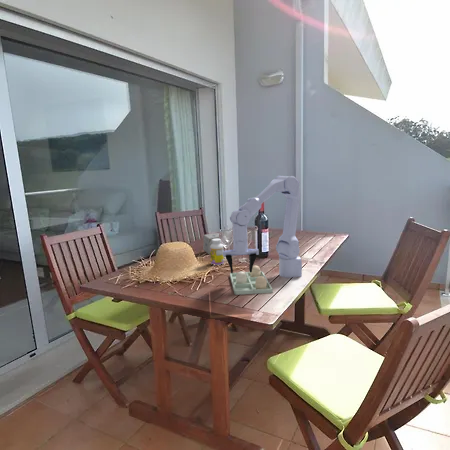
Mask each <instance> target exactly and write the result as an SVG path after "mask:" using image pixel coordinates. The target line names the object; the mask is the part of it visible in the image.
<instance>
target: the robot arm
mask: <svg viewBox="0 0 450 450" xmlns="http://www.w3.org/2000/svg"><path fill="white" fill-rule="evenodd" d="M276 193H282V195H283V196H284V197H285V198H286V203H285V211H284V219H283V227H282V234H281V235H280V236H279V237H278V240H277V243H276V245H275V251H276V252H277V253H278V261H279V263H278V267H279V268H278V269H279V270H278V271H279V272H278V273H279V274H278V276H280V277H281V278H288V279H289V278H296V277H302V275H303V274H302V273H303V265H302V264H303V263H302V258H301V257H300V256H299V255H300V245H299V244H300V241H299V239H298V237H296V232H297V225H298V218H299V210H300V201H301V192H300V181H299V180H298V178H297V177H295V176H294V175H288V176H287V175H277V176H275V177H274V179H272V180H271V181H270V183H269V184H268V185H267V186H266V187H265V188H264V189H263V190H262V191H261V192H260V193H259V194H258V195H257V196H254V197H249V198H247V199H246V200H247V201H246V202H245V203H244V204H242V205H240V206H239V207H238V209H234V210H233V211H232V212H231V214H230V216H229V220H230V222H231V223H232V243H233V244H232V245H233V247H232V248H233V249H226V250H223V257H224V258H225V260H226V261H227V263H228V265H229V269H230V273H234V269H233V256H248V258H249V259H248V260H249V261H248V263H249V264H248V265H249V266H248V272H252V268H253V266H254V264H255V262H256V259H257V257H258V255H260V250H259V248H249V247H248V246H249V245H248V224H249V223H250V221H251V218H252V217H253V216H254V215H255V214H256V213H258V212H259V211H260V209H262V204H263V203H264V202H266V201H267V200H269V198H271V197H272V196H273V195H274V194H276Z"/></svg>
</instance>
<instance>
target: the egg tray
mask: <svg viewBox="0 0 450 450" xmlns="http://www.w3.org/2000/svg"><path fill="white" fill-rule="evenodd" d="M244 272H245V274H246V276H247V283H244V284H236V274H237V273H238V272H233V273H231V272H229V279H230V281H231V284H232V290H233V293H234V295H237V296H238V295H239V296H240V295H255V294H271V293H274V292H273V291H274V288H273V287H272V285H271V283H270V282H269V280H268V278H267V276H266V275H265V273H264V271H262V270H260V272H261V276H263V277H265V278H266V280H267V289H256V287H255V281H256V278H257V277H250V271H244Z"/></svg>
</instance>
